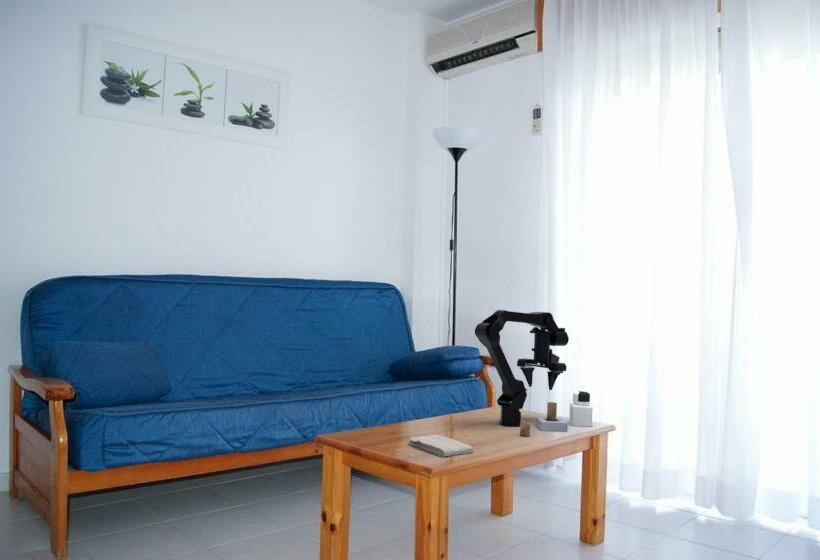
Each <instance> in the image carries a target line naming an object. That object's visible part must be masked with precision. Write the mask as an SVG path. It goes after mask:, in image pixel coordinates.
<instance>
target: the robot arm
mask: <svg viewBox="0 0 820 560" xmlns="http://www.w3.org/2000/svg"><path fill="white" fill-rule="evenodd" d="M507 322H513V323H514V322H515V323H524V324H527V325H530V326H533V328H532V329H531V330H529V333H530V334H534V336H533V337H534V339H533V342H534V343H533V347H532V348H531V352H533V358H518V359H517V361H516V367H519V369H520V370H521V371H522V373H523V376H524V378H525V380H526V382H527V385H528V387H529V388H532V386H533V373H534V371H535V369H536V368H544V369H548V371H547V383H548V385H547V386H548V390H549V391H553V389H554V386H555V383H556V381H557V378H558V377H559V376H560V375H561V374H563V373H564V372H567V367H568V366H567V365H566V363H563V362H560V359H561V358H560V356H558V355H556V354H554V353H553V349H552V348H551V347H566V346H567V345H568V343H569V340H570V338H569V335H568V332H567V331H566V328H565V327H559V326H558V325H557V323H556V321H555V319H554V316H553V314H552V313H551V312H549V311H548V312H547V311H546V312H545V311H534V312H527V313H526V312H520V311H519V312H518V311H509V310H506V309H497V310H496V311H495V312H493V313H492V314H491V315H489V316H488V317H486V318H485V319H484V320H482V321H481V322H480V323H477V325H476V326H475V329H474V335H475V337H476V338H477V340H478V341H479V342H480V344H482V345H483V346H484V347H485V348H486V350H487V352H488V354H489V356H490V358H491V361H492V362H493V365H494V367H495V370H496V372H497V373H498V376H499V379H500V380H501V391H502V393H501V394H500V396H499V397H498V398H497V399H496V402H497V406H499V407H500V416H499V417H500V418H499V419H500V420H499V421H498V423H499V425H501V426H503V427H504V426H506V427H507V426H508V427H509V426H511V427H520V423H522V422H521V419H522V412H521V411H520V410H521V409H523V408H524V405H525V402H526V400H527V397H528V393H527V391H528V388H526V387H525V383H524V381H523V380H520V379H517V378H515V375H514V373H513V370H512V367H510V364H509V362H508V360H507V357H506V355H505V353H504V351H503V348H502V346H501V344H500V343H501V335H500V332H501V331H502V330H503V329H504V328H505V325H506V324H507ZM535 367H536V368H535Z"/></svg>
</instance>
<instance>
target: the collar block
mask: <svg viewBox="0 0 820 560" xmlns="http://www.w3.org/2000/svg"><path fill="white" fill-rule="evenodd" d="M568 424H569V423H568V422H567V421H565V419H563V418H562V417H556V421H547V416H546V417H545V416H543V417H542V416H541V417H540V416H539V417H538V416H536V417H535V427H536V428H538V429H539V430H540V431H541V432H561V433H562V432H563V433H567V432H568V426H569V425H568Z"/></svg>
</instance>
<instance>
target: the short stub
mask: <svg viewBox="0 0 820 560" xmlns="http://www.w3.org/2000/svg"><path fill="white" fill-rule="evenodd" d="M519 427H520V429H519V430H520V431H519V436H520V437H522V438H523V437H525V438H530V437H531V423H529V422H521V423H520V426H519Z"/></svg>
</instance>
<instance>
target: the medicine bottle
mask: <svg viewBox="0 0 820 560" xmlns="http://www.w3.org/2000/svg"><path fill="white" fill-rule="evenodd" d="M590 400H591V393H590V392H588V391H584V390H583V391H582V390H580V391H579V390H578V391H577V390H576V391H573V393H572V402H571V403H570V404H569V415H568V416H569V419H568V420H569V423H570V425H571V426H572V427H584V428H585V427H586V428H588V427H591V428H593V408H594V407H592V405H591V404H590V402H591V401H590Z"/></svg>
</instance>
